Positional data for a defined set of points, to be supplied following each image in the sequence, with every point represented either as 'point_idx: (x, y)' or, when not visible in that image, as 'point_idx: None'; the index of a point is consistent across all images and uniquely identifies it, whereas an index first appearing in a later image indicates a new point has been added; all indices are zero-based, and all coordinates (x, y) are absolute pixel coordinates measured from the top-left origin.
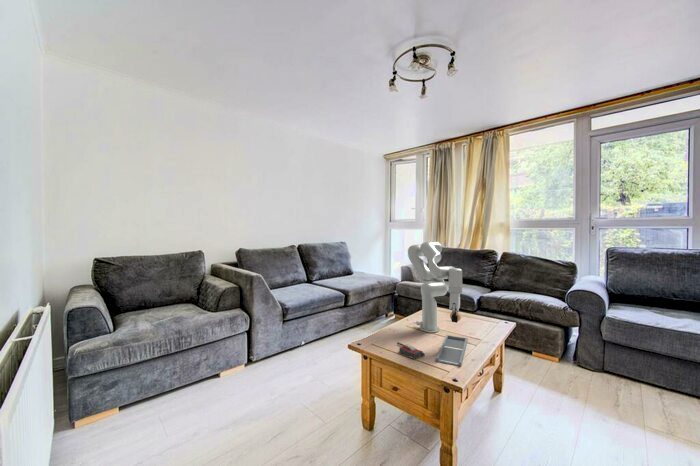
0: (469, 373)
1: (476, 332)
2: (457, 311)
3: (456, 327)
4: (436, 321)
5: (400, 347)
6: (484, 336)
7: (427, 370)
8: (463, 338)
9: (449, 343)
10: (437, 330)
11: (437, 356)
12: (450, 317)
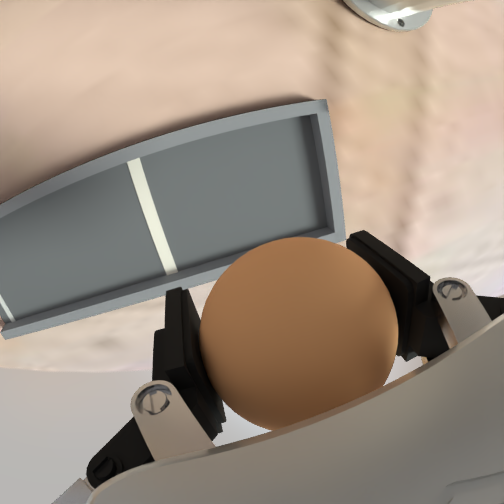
0: (5, 362)
1: (461, 223)
2: (427, 348)
3: (479, 118)
4: (430, 3)
5: None
6: (431, 269)
7: None
8: (332, 219)
9: (213, 159)
10: (378, 22)
11: None
12: (228, 271)
